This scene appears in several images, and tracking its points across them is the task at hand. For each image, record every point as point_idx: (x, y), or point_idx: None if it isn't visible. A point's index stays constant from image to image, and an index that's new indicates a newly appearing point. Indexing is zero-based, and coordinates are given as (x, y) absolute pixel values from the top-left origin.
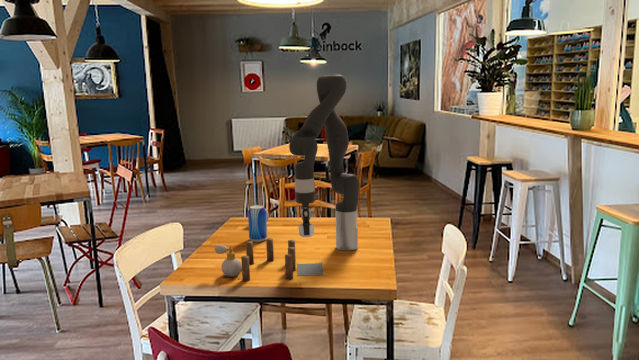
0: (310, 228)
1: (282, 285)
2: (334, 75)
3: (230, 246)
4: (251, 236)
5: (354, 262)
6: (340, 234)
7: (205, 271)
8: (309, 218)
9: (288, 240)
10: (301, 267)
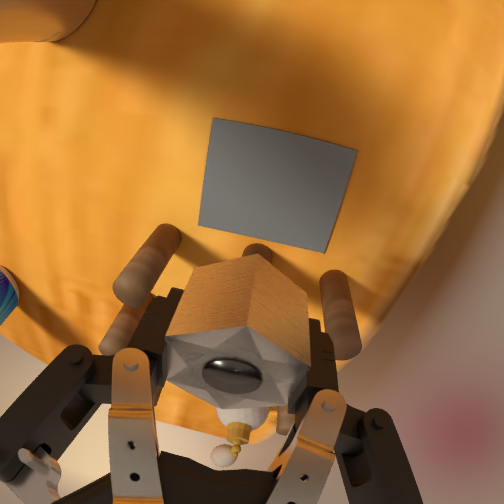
0: (307, 348)
1: (376, 308)
2: None
3: (235, 458)
4: (13, 309)
5: None
6: (33, 14)
7: (206, 411)
8: (327, 461)
9: (123, 302)
10: (243, 218)
